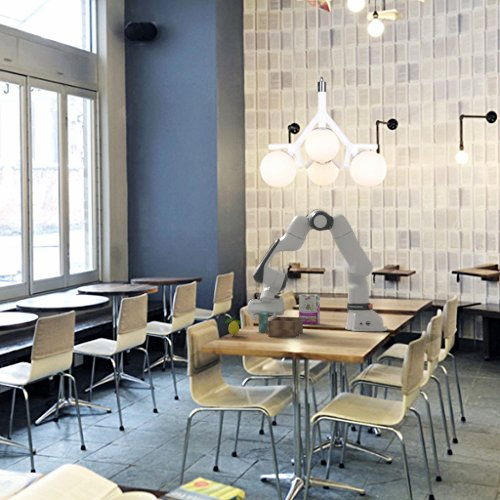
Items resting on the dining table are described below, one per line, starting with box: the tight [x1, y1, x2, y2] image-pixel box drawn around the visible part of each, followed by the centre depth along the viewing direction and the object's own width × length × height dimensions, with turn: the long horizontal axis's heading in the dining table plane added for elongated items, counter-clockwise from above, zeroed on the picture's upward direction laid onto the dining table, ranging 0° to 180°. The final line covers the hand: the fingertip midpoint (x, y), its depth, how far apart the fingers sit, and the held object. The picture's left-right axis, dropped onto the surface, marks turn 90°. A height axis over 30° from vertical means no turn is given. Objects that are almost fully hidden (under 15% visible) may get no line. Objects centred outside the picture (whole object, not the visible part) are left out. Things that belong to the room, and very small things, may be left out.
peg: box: [258, 312, 269, 333], centre depth 422 cm, size 4×4×10 cm
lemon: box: [224, 317, 243, 337], centre depth 409 cm, size 7×6×10 cm
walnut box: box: [267, 316, 304, 338], centre depth 412 cm, size 14×17×8 cm
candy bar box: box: [298, 294, 321, 325], centre depth 451 cm, size 11×5×16 cm, turn 68°
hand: (262, 320), depth 422 cm, fingers open, 8 cm apart
